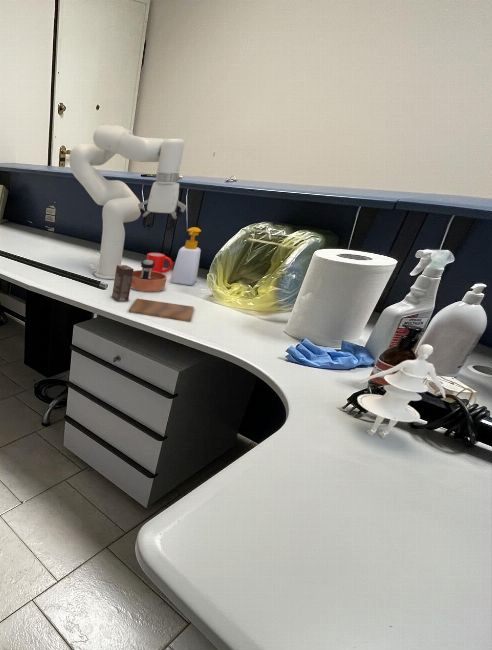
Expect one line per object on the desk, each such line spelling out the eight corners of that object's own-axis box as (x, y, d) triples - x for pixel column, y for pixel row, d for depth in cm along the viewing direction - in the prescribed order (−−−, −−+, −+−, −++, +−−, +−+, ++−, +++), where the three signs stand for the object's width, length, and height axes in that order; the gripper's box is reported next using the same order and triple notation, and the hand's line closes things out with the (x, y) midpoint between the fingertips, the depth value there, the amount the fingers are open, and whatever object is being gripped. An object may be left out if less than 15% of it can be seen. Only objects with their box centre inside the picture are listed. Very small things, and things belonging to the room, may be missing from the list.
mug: (168, 276, 182) (171, 258, 178) (142, 272, 187) (145, 254, 183) (173, 272, 187) (176, 255, 183) (147, 268, 193) (150, 251, 189)
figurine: (406, 428, 84) (461, 339, 74) (425, 456, 76) (489, 360, 66) (331, 413, 88) (373, 327, 78) (342, 438, 80) (390, 346, 70)
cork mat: (128, 312, 141) (129, 309, 141) (136, 300, 152) (137, 298, 152) (189, 321, 134) (190, 319, 134) (193, 308, 145) (193, 306, 145)
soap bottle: (167, 285, 170) (178, 229, 158) (173, 277, 180) (184, 224, 169) (191, 289, 166) (204, 231, 154) (196, 280, 176) (209, 226, 165)
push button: (155, 285, 168) (159, 260, 163) (152, 288, 164) (157, 263, 159) (139, 282, 170) (143, 258, 165) (136, 286, 166) (140, 261, 161)
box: (129, 301, 152) (134, 268, 146) (118, 301, 151) (122, 269, 145) (122, 296, 157) (126, 264, 151) (111, 296, 156) (115, 265, 150)
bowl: (123, 289, 164) (125, 277, 162) (131, 280, 176) (132, 268, 173) (161, 294, 159) (163, 282, 156) (166, 284, 170) (168, 272, 168)
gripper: (193, 179, 146) (182, 229, 155) (144, 177, 152) (136, 225, 161) (191, 180, 140) (180, 232, 149) (140, 178, 146) (133, 228, 155)
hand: (157, 228), depth 155 cm, fingers open, 9 cm apart
